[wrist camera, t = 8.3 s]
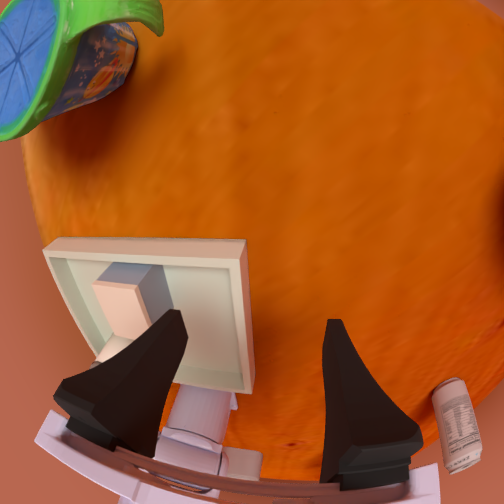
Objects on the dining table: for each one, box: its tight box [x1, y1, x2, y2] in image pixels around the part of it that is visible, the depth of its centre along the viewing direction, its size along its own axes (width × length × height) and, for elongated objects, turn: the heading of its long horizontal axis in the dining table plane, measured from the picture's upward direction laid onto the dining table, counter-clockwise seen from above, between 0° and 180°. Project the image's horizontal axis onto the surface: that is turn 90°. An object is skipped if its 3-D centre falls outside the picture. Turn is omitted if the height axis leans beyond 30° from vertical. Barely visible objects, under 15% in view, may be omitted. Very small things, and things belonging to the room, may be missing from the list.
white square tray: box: [42, 237, 255, 394], centre depth 27 cm, size 19×22×3 cm
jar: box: [90, 332, 134, 369], centre depth 28 cm, size 5×5×7 cm
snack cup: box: [0, 0, 164, 142], centre depth 11 cm, size 16×10×10 cm
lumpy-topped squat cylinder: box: [222, 447, 263, 481], centre depth 49 cm, size 10×13×9 cm
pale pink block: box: [91, 262, 174, 340], centre depth 23 cm, size 6×5×5 cm
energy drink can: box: [432, 378, 482, 474], centre depth 23 cm, size 6×6×15 cm
